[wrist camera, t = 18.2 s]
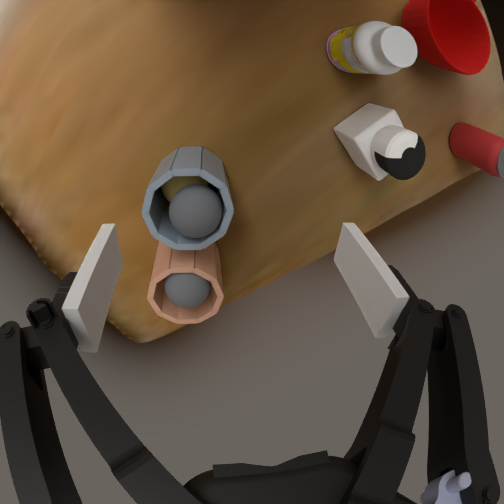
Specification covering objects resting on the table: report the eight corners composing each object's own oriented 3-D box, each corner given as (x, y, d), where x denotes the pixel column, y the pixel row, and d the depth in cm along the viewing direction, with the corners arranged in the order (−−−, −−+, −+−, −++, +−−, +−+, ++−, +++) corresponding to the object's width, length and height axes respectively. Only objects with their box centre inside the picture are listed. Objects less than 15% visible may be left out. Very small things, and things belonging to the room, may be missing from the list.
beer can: (455, 162, 43) (501, 189, 33) (442, 135, 40) (492, 159, 30) (474, 141, 41) (520, 164, 31) (462, 114, 38) (512, 133, 28)
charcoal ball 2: (161, 264, 40) (163, 261, 34) (203, 261, 42) (212, 258, 37) (165, 308, 40) (168, 312, 34) (207, 304, 42) (217, 307, 36)
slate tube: (153, 148, 36) (137, 170, 28) (229, 146, 37) (236, 167, 29) (157, 213, 41) (146, 251, 33) (226, 211, 43) (232, 248, 34)
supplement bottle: (363, 28, 30) (419, 20, 19) (371, 71, 33) (428, 77, 23) (319, 29, 30) (366, 15, 19) (329, 74, 33) (378, 78, 23)
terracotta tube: (152, 228, 42) (141, 268, 34) (219, 226, 44) (224, 266, 36) (159, 279, 47) (152, 323, 39) (219, 278, 49) (223, 322, 41)
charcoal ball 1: (156, 213, 34) (182, 255, 33) (162, 185, 29) (192, 232, 28) (198, 194, 37) (224, 232, 36) (210, 166, 32) (240, 209, 31)
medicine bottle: (389, 140, 40) (439, 165, 30) (355, 165, 41) (398, 198, 31) (368, 101, 36) (419, 115, 26) (331, 128, 38) (374, 150, 28)
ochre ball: (170, 202, 40) (154, 209, 35) (171, 159, 38) (153, 160, 33) (212, 203, 40) (201, 211, 34) (213, 159, 38) (202, 159, 32)
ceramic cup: (463, 21, 28) (504, 23, 19) (427, 84, 35) (471, 94, 26) (413, -32, 23) (453, -43, 14) (370, 29, 30) (412, 23, 21)
